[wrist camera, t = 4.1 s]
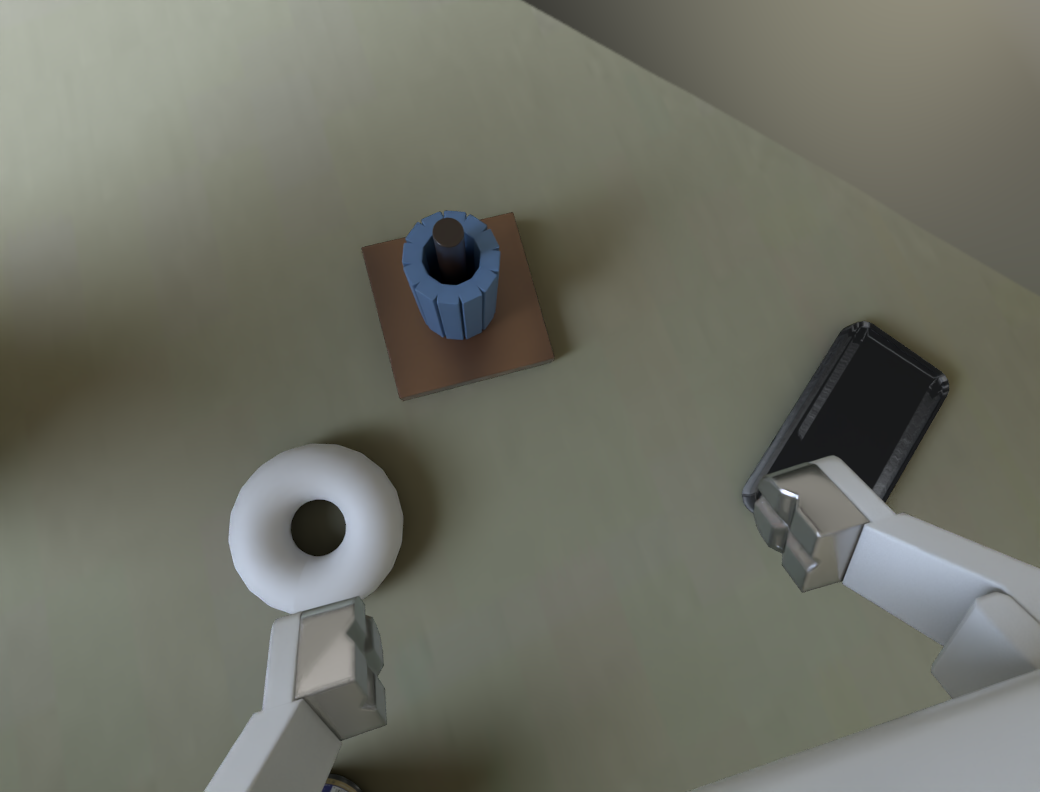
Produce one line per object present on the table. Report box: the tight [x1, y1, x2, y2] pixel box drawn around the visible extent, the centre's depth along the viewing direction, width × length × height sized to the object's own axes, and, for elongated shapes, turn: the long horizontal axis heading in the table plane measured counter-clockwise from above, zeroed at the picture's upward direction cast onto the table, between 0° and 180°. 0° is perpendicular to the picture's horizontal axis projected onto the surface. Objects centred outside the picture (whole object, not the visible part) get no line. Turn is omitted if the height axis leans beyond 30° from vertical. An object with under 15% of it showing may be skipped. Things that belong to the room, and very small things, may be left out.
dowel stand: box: [361, 212, 554, 401], centre depth 31 cm, size 10×10×12 cm
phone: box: [742, 321, 949, 513], centre depth 38 cm, size 8×1×15 cm
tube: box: [402, 211, 501, 340], centre depth 32 cm, size 5×5×8 cm
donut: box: [228, 444, 403, 614], centre depth 34 cm, size 10×3×10 cm
